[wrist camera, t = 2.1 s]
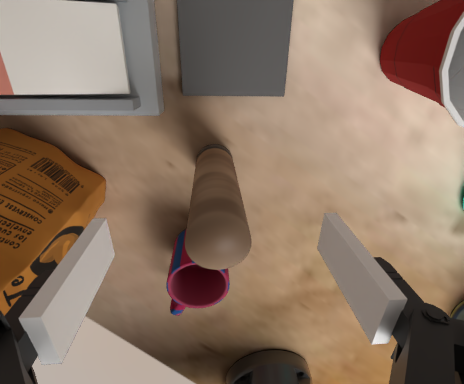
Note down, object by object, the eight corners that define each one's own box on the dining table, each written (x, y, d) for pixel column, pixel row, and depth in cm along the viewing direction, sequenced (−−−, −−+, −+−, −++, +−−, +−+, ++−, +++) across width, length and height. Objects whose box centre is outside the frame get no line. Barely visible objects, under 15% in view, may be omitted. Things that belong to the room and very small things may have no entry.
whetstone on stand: (164, 110, 26) (153, 120, 22) (-49, 109, 25) (-113, 120, 20) (153, -13, 22) (136, -35, 17) (-106, -23, 21) (-206, -50, 16)
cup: (236, 241, 34) (241, 279, 28) (193, 289, 37) (189, 332, 31) (193, 216, 32) (189, 251, 26) (151, 268, 35) (138, 311, 29)
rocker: (118, 7, 20) (116, 3, 19) (130, 92, 22) (129, 93, 21) (-160, -11, 16) (-186, -17, 15) (-107, 93, 19) (-125, 95, 18)
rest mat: (282, 95, 27) (284, 96, 26) (183, 94, 26) (182, 95, 25) (294, -29, 22) (296, -31, 22) (175, -34, 22) (174, -37, 21)
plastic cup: (329, 75, 26) (413, 82, 15) (409, -44, 23) (592, -144, 12) (403, 128, 29) (516, 166, 18) (484, 31, 26) (684, 7, 15)
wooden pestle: (232, 178, 30) (249, 268, 17) (197, 178, 30) (186, 270, 16) (232, 144, 29) (253, 214, 15) (195, 144, 28) (182, 216, 15)
